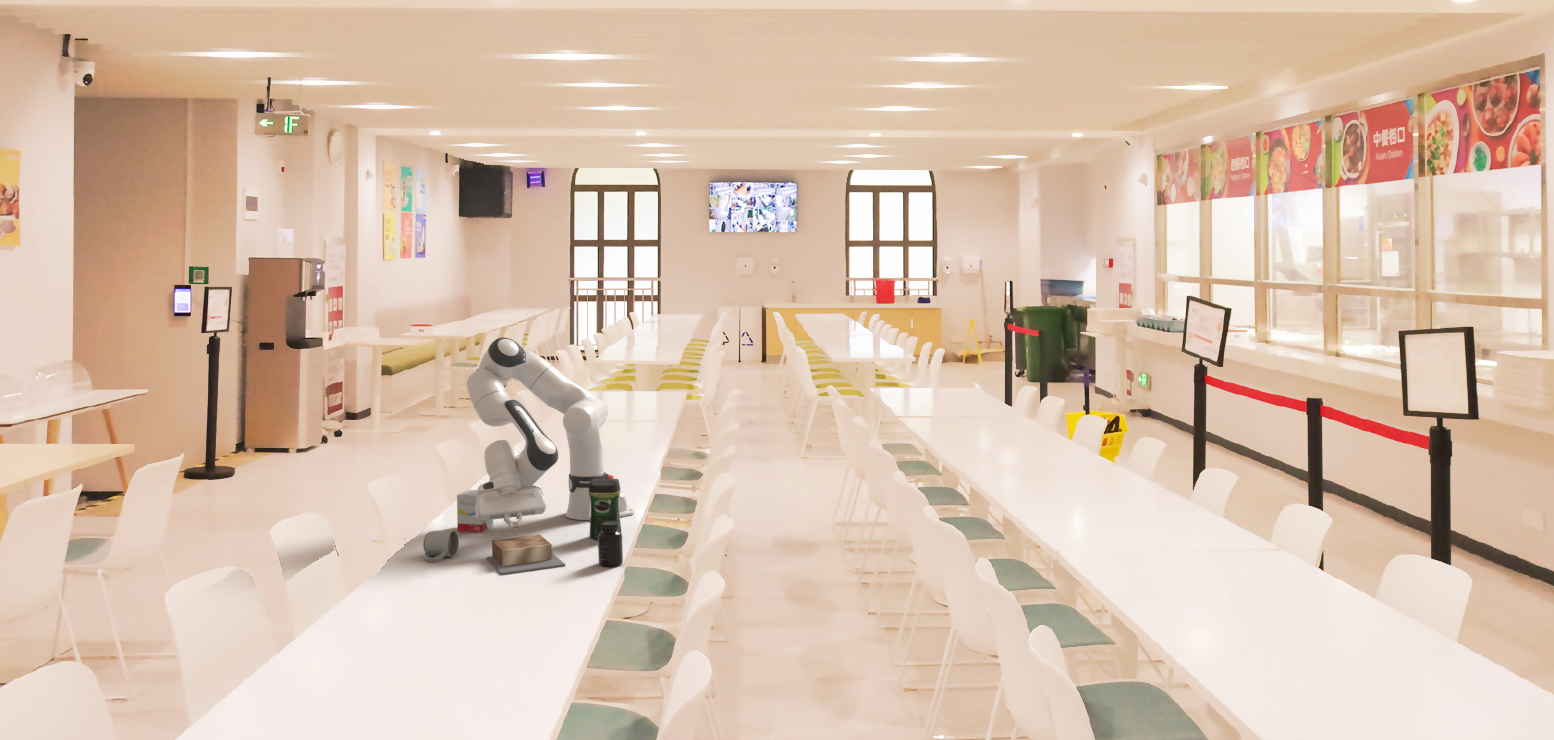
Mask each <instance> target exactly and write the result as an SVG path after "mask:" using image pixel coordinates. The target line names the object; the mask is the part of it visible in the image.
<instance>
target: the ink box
mask: <svg viewBox="0 0 1554 740" xmlns="http://www.w3.org/2000/svg"><path fill="white" fill-rule="evenodd" d="M477 490H478V489H468V490H466V491H463V492H460V493H459V494H456V511H457V512H456V513H457V519H456V521H457V523H456V524H457V525H456V526H457V532H461V533H462V532H465V533H466V532H467V533H481V534H482V533H483V532H486V531H487V530H489V529H491V528H492V527H494V520H485V521H479V520H478V519H477V518H476V512H475V505H476V501H477V499H476V494H477Z"/></svg>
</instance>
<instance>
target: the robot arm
mask: <svg viewBox="0 0 1554 740" xmlns="http://www.w3.org/2000/svg"><path fill="white" fill-rule="evenodd" d="M511 379H514V380H517V381H519V382H520V383H521V384H522V385H523V386H524V387H525V388H526V389H527V390H528V391H529V392H531V393H532V394H533V395H535V397H536V398H538V399H539V400H540V401H541V402H542V403H544V404H545V405H546V406H547V407H549V408H553V409H554V410H556V411H558V412H560V413H561V414H563V417H562V425H563V427H564V430H565V433H566V438H567V444H568V449H569V474H568V490H569V497H568V504H567V509H566V513H565V517H566V518H569V519H572V520H579V521H589V522H590V520H591V499H590V496H589V485H590V481H591V480H593V479H615V476H614V475H613V474H608V473H606V472H604V471H605V469H604V461H605V460H604V448H603V446H602V442H601V436H600V427H602V426H603V425H604V424H605V423H606V420H607V418H608V415H609V408H608V406H607V404H606V403H605V401H604V400H602V399H601V398H599V397H597V396H595V395H593V394H592V393H590V392H589V391H587V390H586V389H584V388H582V387H581V386H580V385H578V384H576V383H574V381H572V380H570V379H569V378H568V377H567V376H565V375H564V374H563V373H562V372H560V370H558V369H557V368H556V367H555V366H553V364H551V363H550V362H549V361H548V360H547V359H545V358H543V357H542V356H540V355H538V354H537V353H535V352H533V351H531V350H525V349H524V348H523V347H522V346H521V345H520V344H519V343H518V342H516V341H515V340H513V339H511V338H509V337H503V336H501V337H498V338H496V339H495V340H493V341H492V342H491V343H490V344H489V346H488V348H487V349H486V351H485V353H484V354H483V356H482V357H481V359H480V362H479V365H478V368H477V369H476V371H474V372H473V373H471V374H470V375H469V376H468V378H467V380H466V388H467V392H468V394H469V398H470V401H471V403H472V405H473V407H474V410H475V412H476V413H477V415H478V417H479V419H480V420H481V421H482V422H483V424H485V425H487V426H490V427H502V426H506V425H509V424H511V423H512V424H513V425H514V426H515V428H516V430H517V431H518V432H519V434H520V435H521V436H522V437H523V438H524V440H525V445H524V448H523V449H522V450H521V451H518V450H516V449H515V448H513V447H512V446H511V445H510V443H509V442H508V440H505V439H499V440H496V441H493V442H491V443H490V444H489V445H488V446H487V447H486V448H485V450H484V455H483V456H484V464H485V469H486V474H487V475H488V477H489V480H488V481H487V482H484V483H481V484H479V486H478V488H477V489H476V490H477V494H476V499H477V501H476V505H475V512H476V518H477V519H478V520H479V521H485V520H493V521H494V520H501V519H503V522H505V524H507V525H508V526H509V527H508V528H509V530H510V531H513V530H520V529H521V526H522V524H521V522H522V521H521V520H522V518H523V517H527V516H536V515H542V514H544V512H545V511H546V508H547V503H546V501H545V498H544V491H543V489H542V488H541V487H540V486H537V485H535V484H536V482H538V480H540V478H542V476H544V474H545V473H546V472H547V471H548V470H550V468H552V467H553V466H555V464H556V463H557V462H558V460H559V451H558V448H557V446H556V444H555V442H553V440H552V439H551V438H549V437H548V436H547V435H546V434H545V432H544V431H543V429H542V428H541V427H540V426H539V424H538V423H537V422H536V420H535V419H534V417H533V416H532V414H531V413H530V412H529V411H528V409H527V408H526V407H525V406H524V405H523V403H521V402H520V401H519V400H517V399H512V398H511V397H510V395H509V394H508V392H507V390H506V386H508V385H507V384H508V383H509V382H510V381H511ZM618 504H619V516H620V518H622V517H629V516H632V515H634V514H635V511H634V510H635V509H634V508H633V507H631V506H630V505H628V501H627V498H626V495H625V494H624V492H622V491H620V495H619V499H618ZM510 518H516V520H517V521H513V520H512V519H510Z"/></svg>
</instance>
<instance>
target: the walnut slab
mask: <svg viewBox="0 0 1554 740" xmlns="http://www.w3.org/2000/svg"><path fill="white" fill-rule="evenodd" d="M552 545H553V544H552V543H551V542H549V541H548V540H547V539H546V538H545V537H543V535H541V534H532V535H524V536H515V537H507V538H500V539H492V540H491V548H492V549H491V551H492V556H494V557H495V558H496V559H497V560H498V561H499V562H500V563H501V565H502V566H507V565H514V564H521V563H529V562H536V561H543V560H551V559H552V553H553V552H552V551H553V550H552V549H553V548H552V547H553V546H552Z"/></svg>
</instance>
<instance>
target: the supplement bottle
mask: <svg viewBox="0 0 1554 740" xmlns="http://www.w3.org/2000/svg"><path fill="white" fill-rule="evenodd" d="M618 529H619V527H618V522H616V521H606V522H602V523H601V530H602V532H600V533H599V535H598V540H597V549H598V551H597V553H598V555H597V556H598V564H599V566H600V567H604V568H616V567H618V566H621V565H622V564H623V561H624V557H623V555H624V553H623V549H624V547H623V534H622V531H621V532H620V531H618Z"/></svg>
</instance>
